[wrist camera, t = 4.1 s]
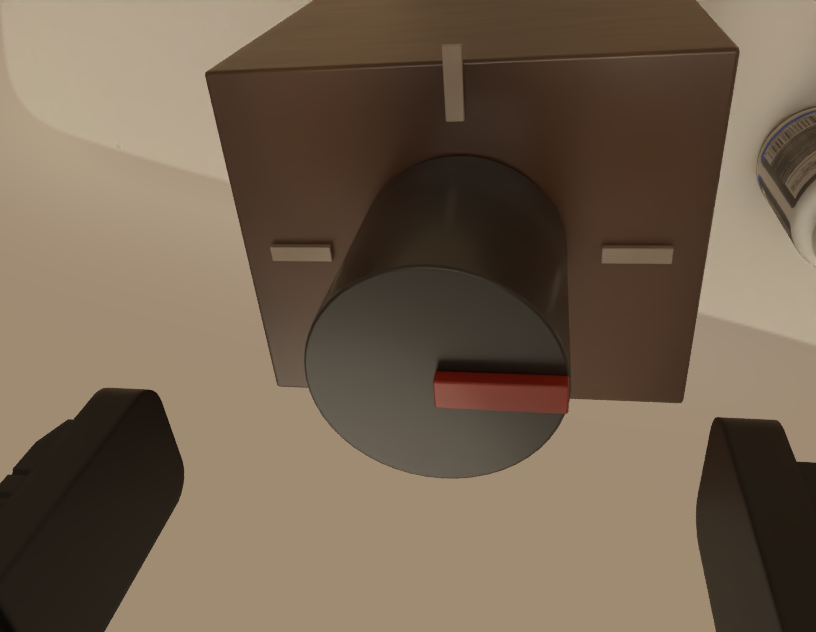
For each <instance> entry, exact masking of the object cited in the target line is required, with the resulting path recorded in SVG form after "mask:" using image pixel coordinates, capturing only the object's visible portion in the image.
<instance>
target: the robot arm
mask: <svg viewBox="0 0 816 632" xmlns="http://www.w3.org/2000/svg"><path fill="white" fill-rule="evenodd" d="M183 483H184V466H183V462H182V458H181V455H180V453H179V450H178V447H177V444H176V441H175V438H174V435H173V432H172V430H171V427H170V424H169V421H168V418H167V416H166V413H165V410H164V407H163V404H162V401H161V399H160V397H159V396H158V394H157V393H156V392H154V391H152V390H144V389H122V388H103V389H101V390H99V391H98V392H96V393H95V394H94V396H93V397H92V398H91V399H90V400H89V401H88V403H87V404H86V405H85V406H84V408H83V409H82V410H81V411H80V412H79V414H78V415H77V416H76V417H75V418H74V420H67V421H65V422H64V423H62V424H61V425H60V426H58V427H57V428H55V429H54V430H52V431H51V432H50V433H48V434H47V435H46V436H44V437H43V438H41V439H40V440H38V441H37V442H36V443H35V444H34V445H33V446H32V447H31V449H30V450H29V451H28V452H27V453H26V454H25V455H24V457H23V458H22V459H21V460H20V461H19V462H18V464H17V465H16V466H15V467H14V468H13V473H12V475H7V476H6V477H5V479H4V480H3V481H2V482H1V483H0V632H104V631H105V630H106V628H107V626H108V624H109V622H110V620H111V619H112V617H113V615H114V614H115V612H116V610H117V609H118V607H119V605H120V603H121V601H122V600H123V598H124V596H125V594H126V593H127V591H128V589H129V587H130V585H131V584H132V582H133V580H134V579H135V577H136V575H137V573H138V571H139V570H140V568H141V566H142V564H143V563H144V561H145V559H146V557H147V556H148V554H149V552H150V550H151V549H152V547H153V545H154V543H155V542H156V540H157V538H158V536H159V535H160V533H161V531H162V529H163V528H164V526H165V524H166V522H167V520H168V519H169V517H170V515H171V514H172V512H173V510H174V508H175V507H176V505H177V503H178V501H179V498H180V496H181V492H182V488H183ZM696 526H697V538H698V545H699V550H700V555H701V560H702V565H703V569H704V575H705V579H706V584H707V589H708V594H709V599H710V604H711V609H712V613H713V618H714V623H715V628H716V632H816V463H811V462H810V463H809V462H796V459H795V457H794V454H793V452H792V449H791V447H790V444H789V441H788V439H787V436H786V434H785V431H784V429H783V427H782V425H781V424H780V422H779V421H777V420H763V419H743V418H720V417H717V418H715V419H714V421H713V423H712V426H711V430H710V435H709V440H708V446H707V450H706V455H705V461H704V466H703V471H702V476H701V482H700V487H699V491H698V498H697V506H696Z"/></svg>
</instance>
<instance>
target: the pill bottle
mask: <svg viewBox="0 0 816 632" xmlns="http://www.w3.org/2000/svg"><path fill="white" fill-rule="evenodd" d="M757 180H758V183H759V186H760V188H761V191H762V193H763V195H764V196H765V198H766V199H767V201H768V203H769V204H770V206H771V207H772V209H773V211H774V212H775V214H776V216H777V217H778V219H779V221H780V222H781V224H782V226H783V227H784V229H785V230H786V232H787V234H788V236H789V237H790V239H791V241H792V242H793V244H794V246H795V247H796V249H797V251H798V252H799V253H800V254H801V256H802V257H803V258H805V259H806V260H807V261H808V262H809V263H810V264H812V265H813V266H814V267H816V107H815V108H810V109H807V110H804V111H802V112H799V113H797V114H795V115H793V116H791V117H790V118H788V119H787V120H786V121H784V122H783V123H782V124H780V125H779V126H778V127H777V128H776V129H775V130H774V131H773V132H772V133H771V134H770V135H769V137H768V138H767V140H766V141H765V143H764V145H763V147H762V149H761V151H760V154H759V157H758V161H757Z"/></svg>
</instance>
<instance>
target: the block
mask: <svg viewBox="0 0 816 632" xmlns="http://www.w3.org/2000/svg"><path fill="white" fill-rule="evenodd" d="M739 52H740V51H739V48H738V47H737V46H736V45H735V43H734V42H733V41H732V40H731V39H730V38H729V37H728V36H727V35H726V33H725V32H724V31H723V30H722V29H721V28H720V27H719V26H718V25H717V23H716V22H715V21H714V20H713V19H712V18H711V17H710V16H709V15H708V13H707V12H706V11H705V10H704V9H703V8H702V7H701V6H700V4H699V3H698V2H697V1H696V0H313V1H312V2H310V3H309V4H307V5H306V6H304V7H303V8H301V9H300V10H298V11H297V12H295V13H294V14H292V15H291V16H289V17H288V18H286V19H285V20H283V21H282V22H280V23H279V24H277V25H276V26H274V27H273V28H271V29H270V30H268V31H267V32H265V33H264V34H262V35H261V36H259V37H258V38H256V39H255V40H253V41H252V42H250V43H249V44H247V45H246V46H244V47H243V48H241V49H240V50H238V51H237V52H235V53H234V54H232V55H231V56H229V57H228V58H226V59H225V60H223V61H222V62H220V63H219V64H217V65H216V66H214V67H213V68H211V69H210V70H208V71H207V72H206V73H205V77H206V81H207V86H208V90H209V94H210V98H211V103H212V107H213V111H214V116H215V120H216V124H217V128H218V133H219V137H220V141H221V146H222V150H223V154H224V158H225V163H226V167H227V171H228V176H229V180H230V184H231V188H232V193H233V197H234V201H235V205H236V210H237V214H238V218H239V223H240V226H241V231H242V235H243V239H244V244H245V248H246V252H247V257H248V261H249V266H250V270H251V274H252V278H253V283H254V287H255V291H256V295H257V300H258V304H259V308H260V313H261V317H262V321H263V325H264V330H265V334H266V338H267V343H268V347H269V351H270V356H271V360H272V364H273V368H274V372H275V377H276V381H277V385H278V386H282V387H306V388H309V387H308V383H307V380H306V375H305V367H304V349H305V344H306V339H307V335H308V332H309V330H310V327H311V325H312V322H313V320H314V318H315V316H316V314H317V312H318V310H319V308H320V306H321V304H322V302H323V300H324V298H325V296H326V294H327V292H328V290H329V288H330V286H331V284H332V282H333V280H334V278H335V276H336V274H337V272H338V270H339V268H340V266H341V264H342V262H343V260H344V258H345V256H346V254H347V252H348V250H349V248H350V246H351V244H352V242H353V240H354V238H355V236H356V234H357V232H358V230H359V228H360V226H361V224H362V222H363V220H364V218H365V216H366V214H367V212H368V210H369V208H370V206H371V205H372V203H373V201H374V199H375V198H376V196H377V195H378V194H379V192H380V191H381V190H382V189H383V187H384V186H386V185H387V184H388V183H389V182H390V181H391V180H392V179H393V178H394V177H396V176H397V175H399V174H400V173H402V172H403V171H405V170H407V169H408V168H410V167H412V166H414V165H416V164H419V163H422V162H425V161H428V160H432V159H436V158H441V157H450V156H471V157H477V158H483V159H488V160H491V161H494V162H498V163H501V164H503V165H505V166H507V167H510V168H512V169H514V170H516V171H517V172H519V173H520V174H522V175H524V176H525V177H527V178H528V179H529V180H530V181H532V182H533V183H534V184H535V185H537V186H538V188H539V189H540V190H541V191H542V192H543V193H544V194H545V195H546V196H547V198H548V199H549V200H550V202H551V203H552V205H553V206H554V208H555V210H556V212H557V213H558V215H559V217H560V220H561V223H562V226H563V229H564V232H565V238H566V246H567V275H568V304H569V334H570V363H571V393H570V399H594V400H618V401H642V402H665V403H667V402H668V403H682V401H683V398H684V392H685V385H686V379H687V373H688V367H689V361H690V355H691V349H692V342H693V336H694V330H695V324H696V318H697V312H698V306H699V299H700V293H701V287H702V281H703V275H704V269H705V262H706V256H707V250H708V244H709V238H710V231H711V225H712V219H713V213H714V207H715V200H716V194H717V188H718V182H719V176H720V170H721V163H722V157H723V151H724V145H725V139H726V132H727V126H728V120H729V114H730V108H731V102H732V95H733V89H734V83H735V77H736V71H737V64H738V58H739Z"/></svg>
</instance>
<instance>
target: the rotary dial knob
mask: <svg viewBox="0 0 816 632" xmlns="http://www.w3.org/2000/svg"><path fill="white" fill-rule="evenodd" d="M304 367H305V375H306V380H307V383H308V387H309V390H310V393H311V395H312V397H313V400H314V402H315V404H316V406H317V407H318V409H319V410H320V412H321V414H322V415H323V417H324V418H325V419H326V421H327V422H328V423H329V424H330V426H331V427H332V428H333V429H334V430H335V431H336V432H337V433H338V434H339V435H340V436H341V437H342V438H343V439H344V440H346V441H347V442H348V443H349V444H351V445H352V446H353V447H354V448H356V449H358V450H359V451H361V452H362V453H364V454H365V455H367V456H369V457H370V458H372V459H374V460H376V461H378V462H380V463H382V464H385V465H387V466H390V467H392V468H395V469H398V470H401V471H404V472H408V473H411V474H416V475H422V476H427V477H436V478H468V477H476V476H481V475H487V474H491V473H494V472H498V471H501V470H504V469H506V468H508V467H511V466H513V465H516V464H517V463H519V462H521V461H523V460H524V459H526V458H528V457H529V456H531V455H532V454H533V453H535V452H536V451H537V450H539V449H540V448H541V447H542V446H543V445H544V444H545V443H546V442H547V441H548V440H549V439H550V437H551V436H552V435H553V433H554V432H555V431H556V429H557V428H558V426H559V425H560V423H561V421H562V419H563V417H564V415H565V414H567V413H568V405H569V399H570V393H571V363H570V334H569V304H568V275H567V246H566V238H565V232H564V229H563V226H562V223H561V220H560V217H559V215H558V213H557V212H556V210H555V208H554V206H553V205H552V203H551V202H550V200H549V199H548V198H547V196H546V195H545V194H544V193H543V192H542V191H541V190H540V189H539V188H538V186H537V185H535V184H534V183H533V182H532V181H530V180H529V179H528V178H527V177H525V176H524V175H522V174H520V173H519V172H517V171H516V170H514V169H512V168H510V167H507V166H505V165H503V164H501V163H498V162H494V161H491V160H488V159H483V158H477V157H471V156H450V157H441V158H436V159H432V160H428V161H425V162H422V163H419V164H416V165H414V166H412V167H410V168H408V169H407V170H405V171H403V172H402V173H400V174H399V175H397V176H396V177H394V178H393V179H392V180H391V181H390V182H389V183H388V184H387V185H386V186H384V187H383V189H382V190H381V191H380V192H379V194H378V195H377V196H376V198H375V199H374V201H373V203H372V205H371V206H370V208H369V210H368V212H367V214H366V216H365V218H364V220H363V222H362V224H361V226H360V228H359V230H358V232H357V234H356V236H355V238H354V240H353V242H352V244H351V246H350V248H349V250H348V252H347V254H346V256H345V258H344V260H343V262H342V264H341V266H340V268H339V270H338V272H337V274H336V276H335V278H334V280H333V282H332V284H331V286H330V288H329V290H328V292H327V294H326V296H325V298H324V300H323V302H322V304H321V306H320V308H319V310H318V312H317V314H316V316H315V318H314V320H313V322H312V325H311V327H310V330H309V332H308V335H307V339H306V344H305V349H304Z"/></svg>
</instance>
